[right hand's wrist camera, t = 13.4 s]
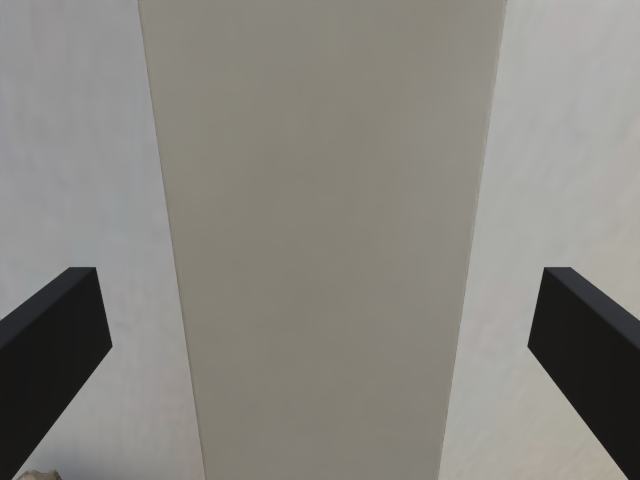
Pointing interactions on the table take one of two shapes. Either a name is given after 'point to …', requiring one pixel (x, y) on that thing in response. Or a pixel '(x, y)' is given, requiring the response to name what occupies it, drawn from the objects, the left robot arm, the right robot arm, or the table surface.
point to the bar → (322, 221)
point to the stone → (40, 475)
